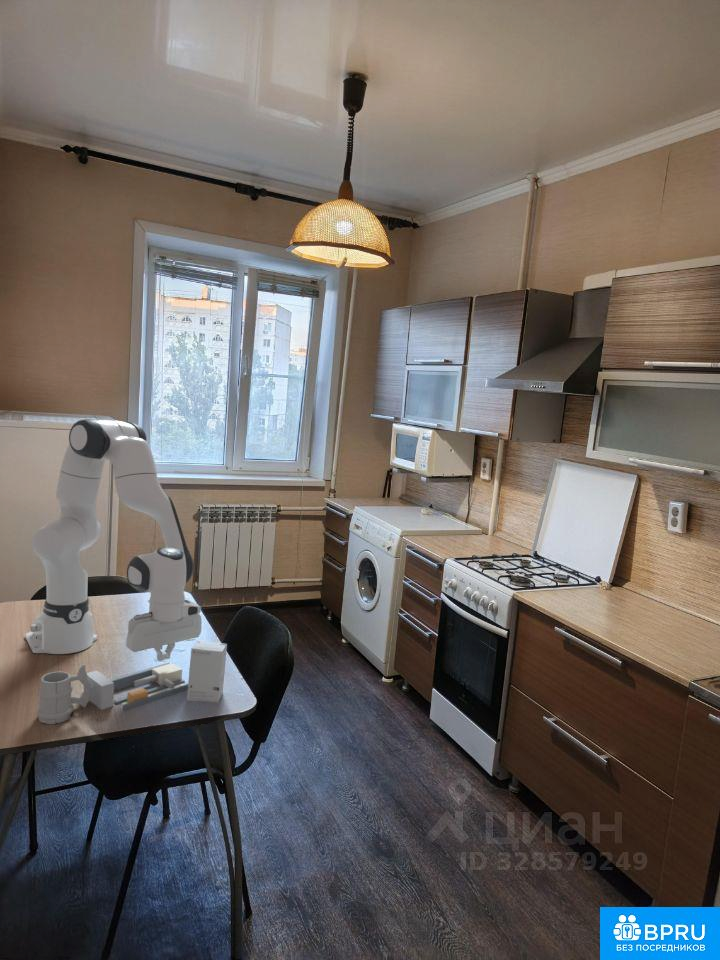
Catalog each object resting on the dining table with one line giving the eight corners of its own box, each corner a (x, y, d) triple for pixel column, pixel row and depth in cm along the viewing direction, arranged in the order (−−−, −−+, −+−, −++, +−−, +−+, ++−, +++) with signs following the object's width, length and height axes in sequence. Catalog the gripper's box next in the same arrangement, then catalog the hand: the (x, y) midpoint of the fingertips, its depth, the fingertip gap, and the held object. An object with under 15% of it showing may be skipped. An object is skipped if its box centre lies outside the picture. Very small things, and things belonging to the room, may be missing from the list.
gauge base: (77, 695, 159) (77, 668, 158) (169, 668, 179) (170, 644, 178) (109, 721, 148) (109, 692, 147) (203, 689, 167) (204, 663, 166)
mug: (35, 712, 150) (36, 664, 148) (89, 703, 156) (90, 657, 154) (38, 727, 143) (38, 677, 142) (94, 717, 149) (95, 669, 148)
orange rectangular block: (127, 701, 156) (127, 692, 155) (142, 696, 158) (142, 687, 158) (132, 705, 154) (132, 695, 154) (147, 700, 157) (147, 691, 156)
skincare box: (186, 705, 159) (188, 648, 157) (192, 694, 165) (194, 639, 163) (219, 707, 159) (222, 650, 157) (224, 696, 165) (227, 641, 163)
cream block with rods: (130, 685, 163) (130, 674, 163) (171, 673, 172) (172, 663, 172) (149, 699, 157) (149, 687, 157) (191, 685, 166) (191, 674, 166)
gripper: (135, 620, 156) (132, 673, 158) (206, 606, 171) (202, 654, 173) (123, 612, 160) (120, 664, 162) (193, 599, 175) (190, 647, 177)
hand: (163, 659), depth 167 cm, fingers closed
